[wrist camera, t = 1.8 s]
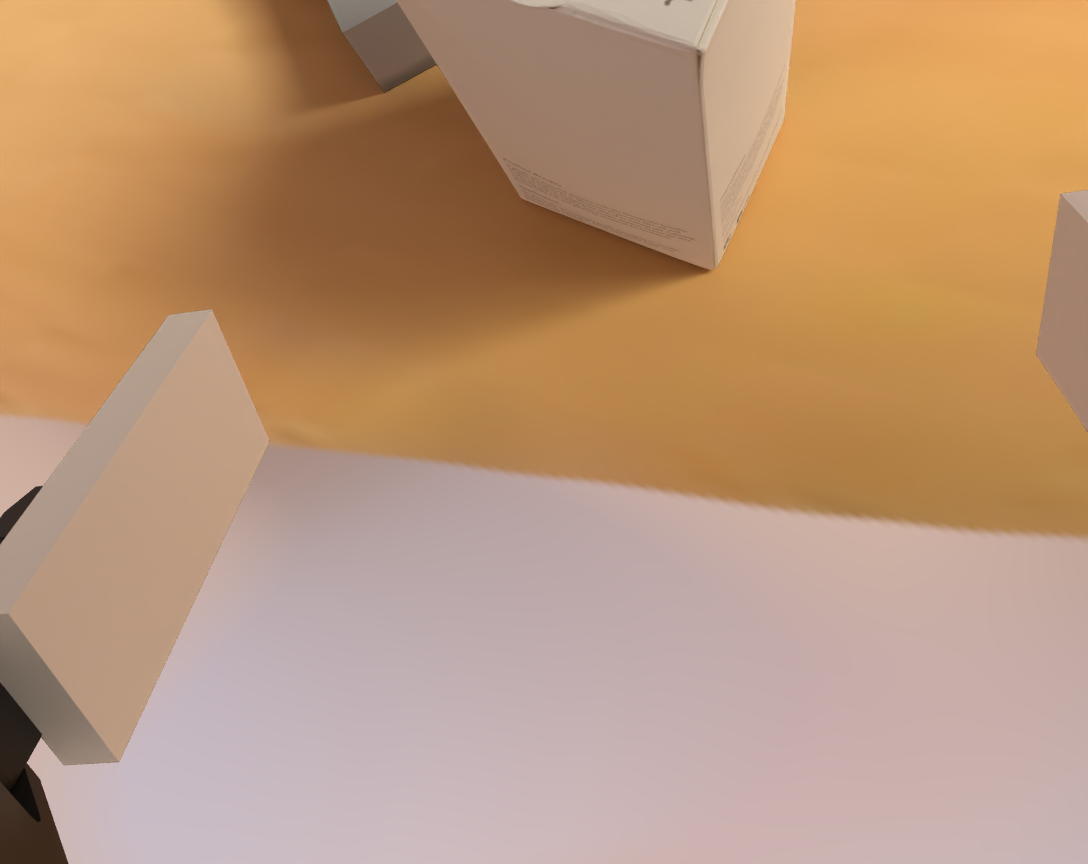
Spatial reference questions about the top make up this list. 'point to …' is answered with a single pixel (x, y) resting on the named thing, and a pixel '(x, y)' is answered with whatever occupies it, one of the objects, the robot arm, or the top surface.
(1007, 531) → the top surface
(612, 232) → the skincare box
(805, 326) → the top surface
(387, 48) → the tray
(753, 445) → the top surface
